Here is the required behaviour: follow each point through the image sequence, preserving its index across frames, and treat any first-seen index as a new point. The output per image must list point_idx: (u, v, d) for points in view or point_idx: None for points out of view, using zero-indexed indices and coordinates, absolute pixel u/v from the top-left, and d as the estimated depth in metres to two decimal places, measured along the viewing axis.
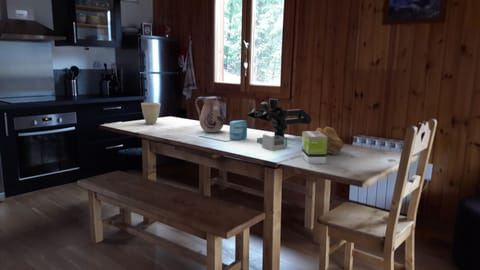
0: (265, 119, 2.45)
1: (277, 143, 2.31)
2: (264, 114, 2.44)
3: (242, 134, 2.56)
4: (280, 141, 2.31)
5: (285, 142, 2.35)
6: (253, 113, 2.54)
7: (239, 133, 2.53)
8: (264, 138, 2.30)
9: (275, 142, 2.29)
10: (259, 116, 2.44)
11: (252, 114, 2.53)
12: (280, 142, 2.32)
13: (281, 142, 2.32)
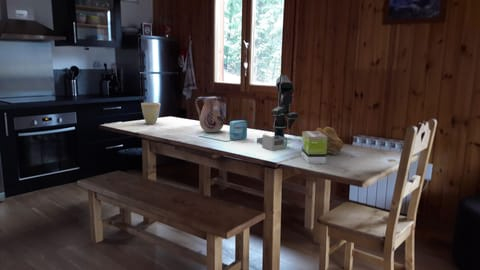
0: (294, 118, 2.29)
1: (277, 143, 2.31)
2: (290, 120, 2.27)
3: (242, 134, 2.56)
4: (280, 141, 2.31)
5: (285, 142, 2.35)
6: (278, 117, 2.37)
7: (239, 133, 2.53)
8: (264, 138, 2.30)
9: (275, 142, 2.29)
10: (290, 125, 2.29)
11: (279, 119, 2.37)
12: (280, 142, 2.32)
13: (281, 142, 2.32)
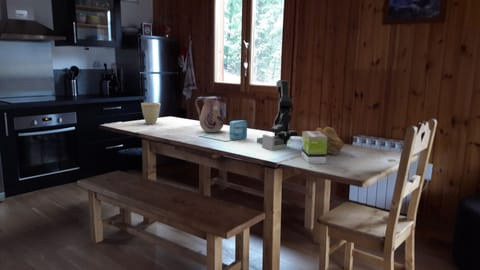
0: (290, 135, 2.33)
1: (277, 143, 2.31)
2: (285, 137, 2.32)
3: (242, 134, 2.56)
4: (280, 141, 2.31)
5: None
6: (281, 135, 2.36)
7: (239, 133, 2.53)
8: (264, 138, 2.30)
9: (275, 142, 2.29)
10: (285, 141, 2.34)
11: (281, 136, 2.37)
12: (280, 142, 2.32)
13: (281, 142, 2.32)
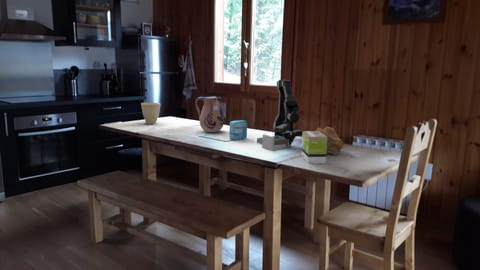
0: None
1: (282, 142, 2.33)
2: (291, 136, 2.34)
3: (242, 134, 2.56)
4: (284, 140, 2.34)
5: None
6: (286, 135, 2.39)
7: (239, 133, 2.53)
8: (264, 138, 2.30)
9: (279, 141, 2.31)
10: (291, 141, 2.37)
11: (287, 136, 2.39)
12: (284, 141, 2.34)
13: (285, 141, 2.34)
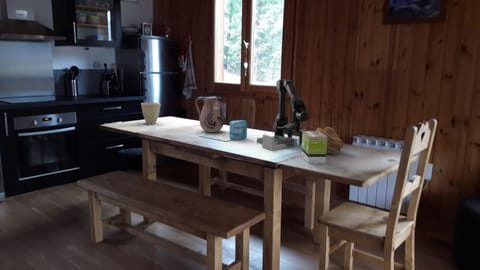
0: None
1: (288, 142, 2.35)
2: (301, 136, 2.35)
3: (242, 134, 2.56)
4: (290, 140, 2.36)
5: (295, 141, 2.40)
6: (289, 133, 2.45)
7: (239, 133, 2.53)
8: (264, 138, 2.30)
9: (286, 141, 2.34)
10: (301, 141, 2.37)
11: (290, 134, 2.45)
12: (290, 140, 2.36)
13: (291, 141, 2.37)
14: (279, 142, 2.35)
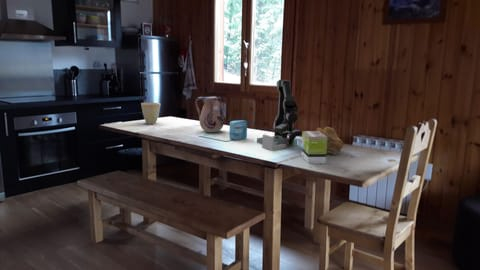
0: (295, 135, 2.34)
1: (288, 142, 2.35)
2: (291, 137, 2.33)
3: (242, 134, 2.56)
4: None
5: (295, 141, 2.40)
6: (284, 134, 2.39)
7: (239, 133, 2.53)
8: (264, 138, 2.30)
9: (286, 140, 2.34)
10: (291, 141, 2.35)
11: (284, 136, 2.40)
12: None
13: None
14: (279, 142, 2.35)
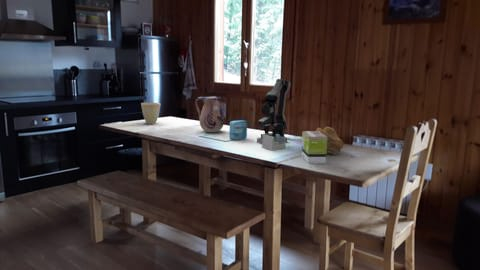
0: (278, 128, 2.42)
1: None
2: (274, 130, 2.40)
3: (242, 134, 2.56)
4: None
5: (277, 136, 2.49)
6: (266, 127, 2.48)
7: (239, 133, 2.53)
8: (264, 138, 2.30)
9: None
10: (274, 134, 2.42)
11: (266, 129, 2.48)
12: None
13: None
14: (262, 137, 2.44)
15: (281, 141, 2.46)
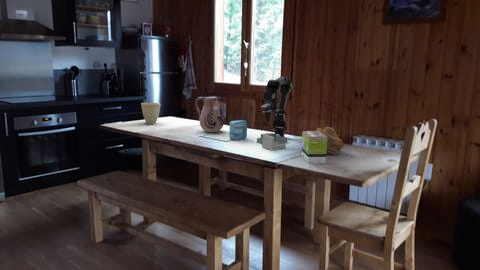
0: (281, 115, 2.42)
1: None
2: (277, 116, 2.41)
3: (242, 134, 2.56)
4: (273, 135, 2.45)
5: (277, 136, 2.49)
6: (266, 113, 2.50)
7: (239, 133, 2.53)
8: (264, 138, 2.30)
9: None
10: (277, 121, 2.43)
11: (267, 115, 2.51)
12: (273, 136, 2.45)
13: (274, 136, 2.45)
14: (262, 137, 2.44)
15: (281, 141, 2.46)
